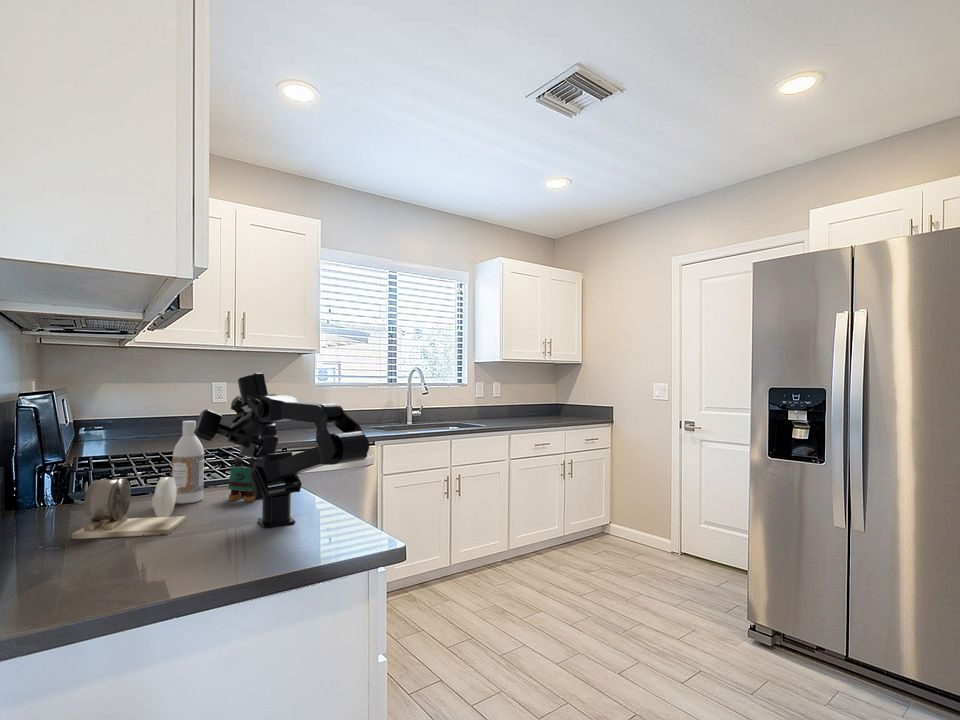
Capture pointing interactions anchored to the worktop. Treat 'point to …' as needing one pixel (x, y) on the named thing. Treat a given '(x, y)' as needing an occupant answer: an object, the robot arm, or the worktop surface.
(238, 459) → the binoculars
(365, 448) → the robot arm
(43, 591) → the worktop surface
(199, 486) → the bath foam
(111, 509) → the cylinder
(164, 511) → the white oval slab
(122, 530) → the birch board
